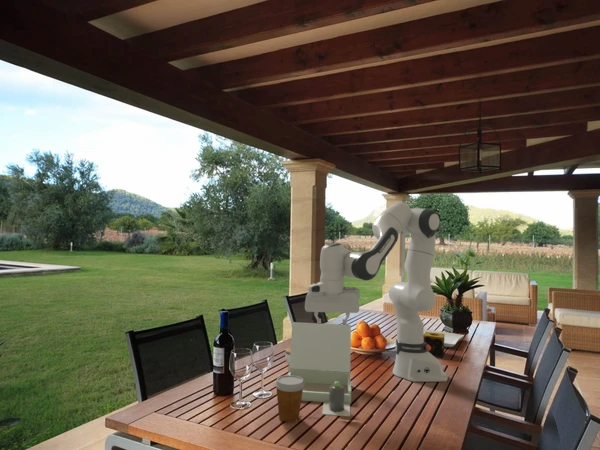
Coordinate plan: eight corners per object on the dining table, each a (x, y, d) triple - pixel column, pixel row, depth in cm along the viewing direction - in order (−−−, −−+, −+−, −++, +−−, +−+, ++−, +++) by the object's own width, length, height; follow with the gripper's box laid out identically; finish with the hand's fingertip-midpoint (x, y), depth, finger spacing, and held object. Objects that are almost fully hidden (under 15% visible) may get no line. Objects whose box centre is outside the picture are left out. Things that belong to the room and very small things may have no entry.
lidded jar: (306, 372, 170) (307, 350, 170) (282, 370, 172) (282, 348, 173) (310, 364, 181) (311, 343, 181) (287, 362, 183) (288, 342, 183)
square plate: (464, 340, 235) (464, 334, 235) (454, 351, 212) (454, 343, 212) (418, 333, 249) (418, 327, 249) (404, 342, 226) (404, 336, 226)
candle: (422, 355, 202) (422, 335, 202) (424, 350, 211) (424, 331, 211) (443, 357, 198) (443, 337, 198) (444, 352, 207) (444, 333, 207)
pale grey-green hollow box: (349, 380, 162) (350, 324, 162) (351, 405, 137) (352, 339, 138) (291, 376, 164) (292, 321, 165) (282, 400, 140) (284, 335, 141)
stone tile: (349, 406, 136) (349, 404, 136) (350, 418, 127) (350, 415, 127) (323, 404, 137) (323, 402, 137) (322, 416, 128) (322, 413, 128)
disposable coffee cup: (281, 409, 133) (282, 372, 133) (308, 414, 129) (309, 377, 129) (268, 421, 124) (269, 382, 124) (296, 427, 120) (297, 387, 121)
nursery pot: (344, 406, 135) (344, 379, 135) (344, 412, 130) (344, 384, 130) (329, 405, 135) (329, 378, 135) (328, 411, 130) (329, 383, 130)
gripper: (359, 286, 150) (359, 322, 150) (305, 285, 152) (305, 321, 151) (360, 288, 144) (360, 326, 143) (304, 287, 145) (304, 325, 145)
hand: (331, 324), depth 147 cm, fingers open, 8 cm apart
